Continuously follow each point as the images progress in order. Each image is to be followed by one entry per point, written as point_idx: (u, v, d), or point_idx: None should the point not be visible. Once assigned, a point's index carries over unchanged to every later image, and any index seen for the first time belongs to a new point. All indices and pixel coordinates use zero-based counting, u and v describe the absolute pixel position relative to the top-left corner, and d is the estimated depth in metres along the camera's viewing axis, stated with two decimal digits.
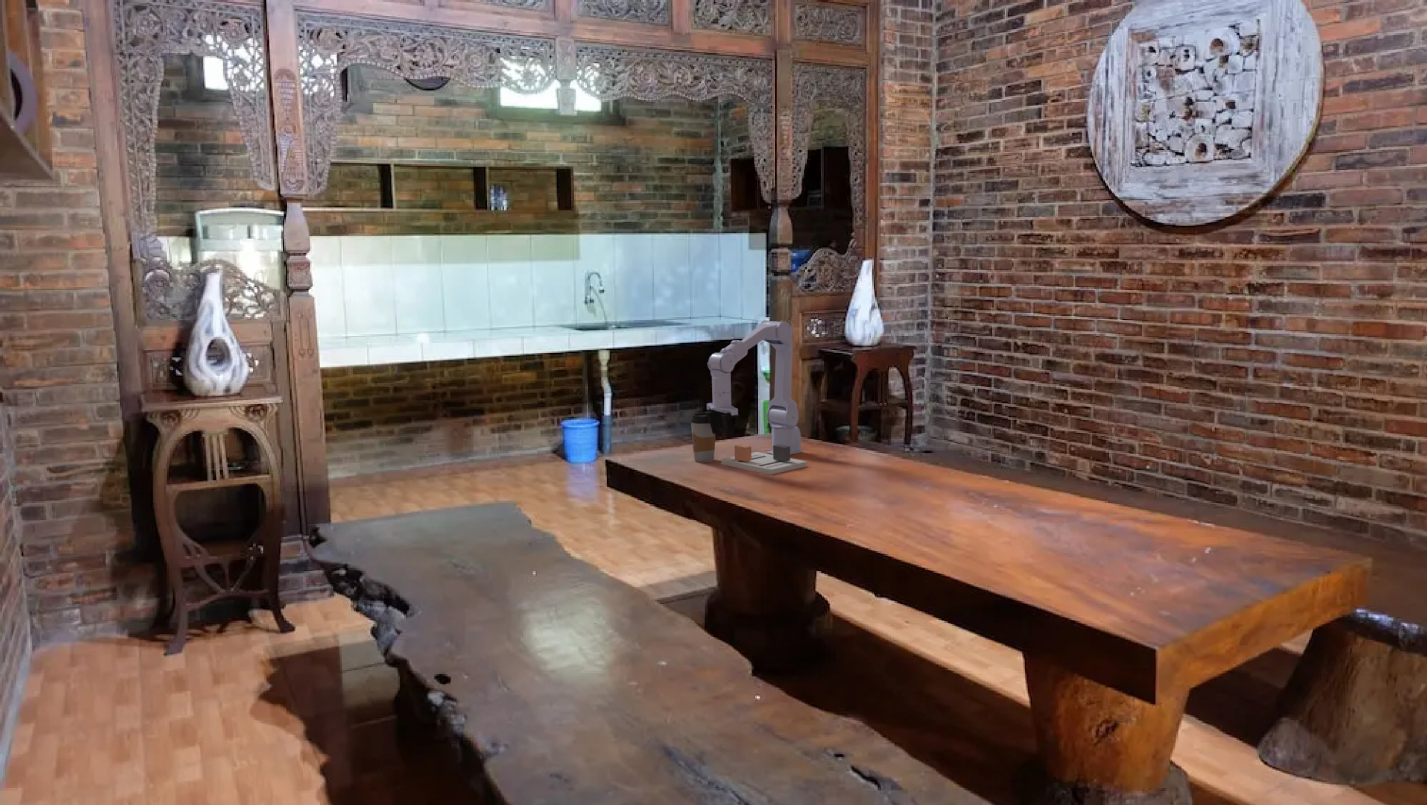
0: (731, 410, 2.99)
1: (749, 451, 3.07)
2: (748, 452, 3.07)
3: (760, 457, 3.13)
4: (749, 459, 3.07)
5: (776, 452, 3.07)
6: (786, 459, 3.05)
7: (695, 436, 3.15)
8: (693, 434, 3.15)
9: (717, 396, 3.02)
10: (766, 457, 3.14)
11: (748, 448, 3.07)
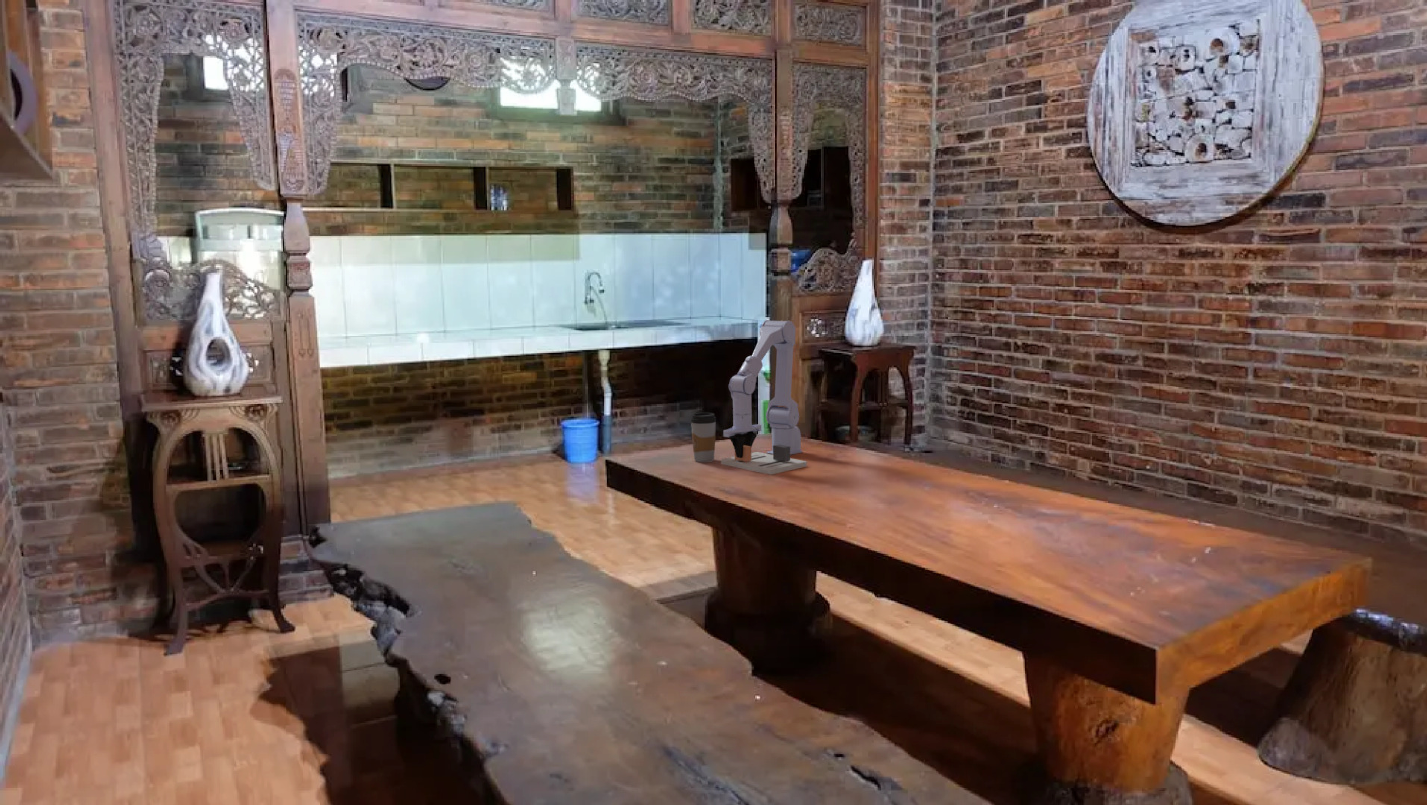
0: None
1: (749, 451, 3.07)
2: (748, 452, 3.07)
3: (760, 457, 3.13)
4: (749, 459, 3.07)
5: (776, 452, 3.07)
6: (786, 459, 3.05)
7: (695, 436, 3.15)
8: (693, 434, 3.15)
9: None
10: (766, 457, 3.14)
11: (748, 448, 3.07)
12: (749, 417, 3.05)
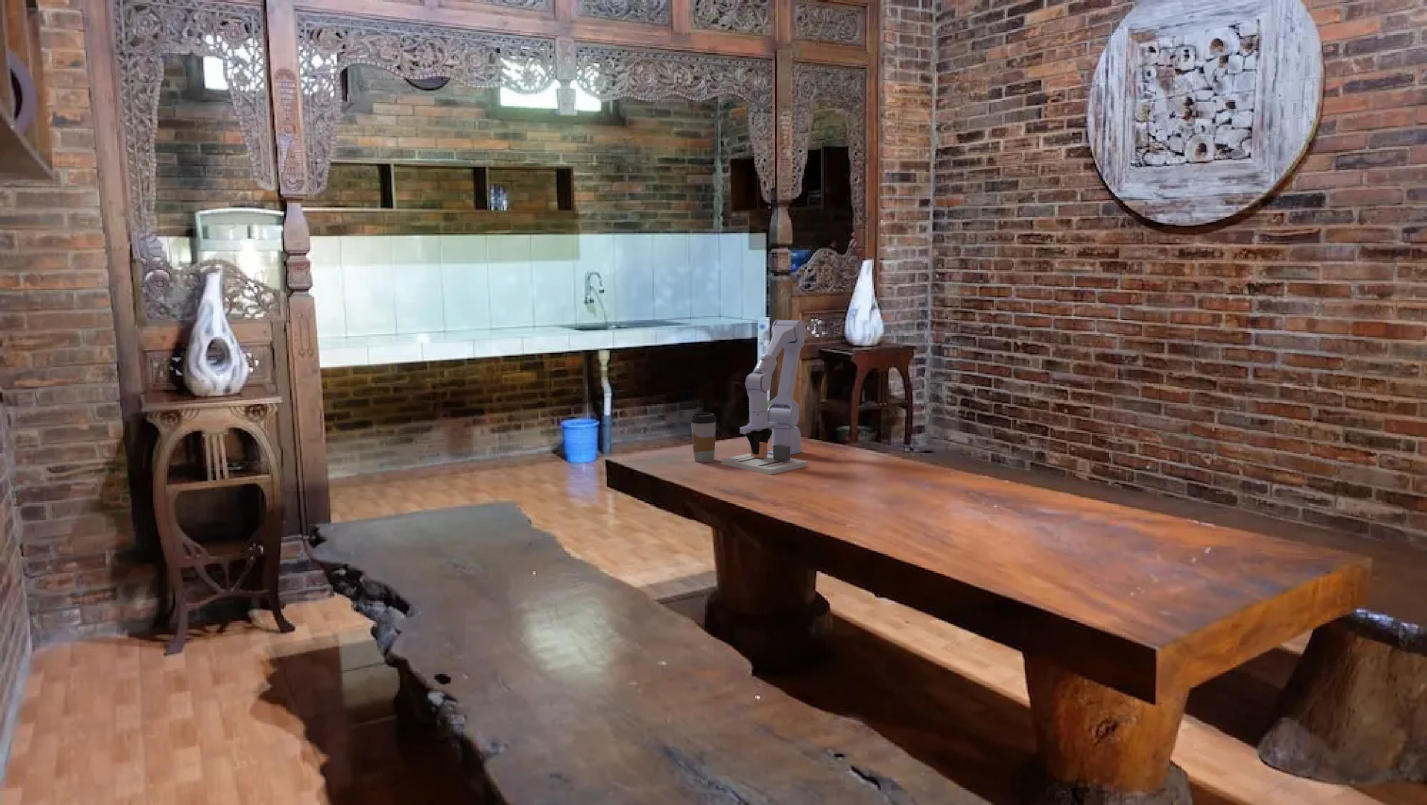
0: None
1: (765, 448, 3.12)
2: (764, 449, 3.11)
3: None
4: (765, 455, 3.12)
5: (776, 452, 3.07)
6: (786, 459, 3.05)
7: (695, 436, 3.15)
8: (693, 434, 3.15)
9: None
10: (766, 457, 3.14)
11: (764, 445, 3.11)
12: (765, 414, 3.10)
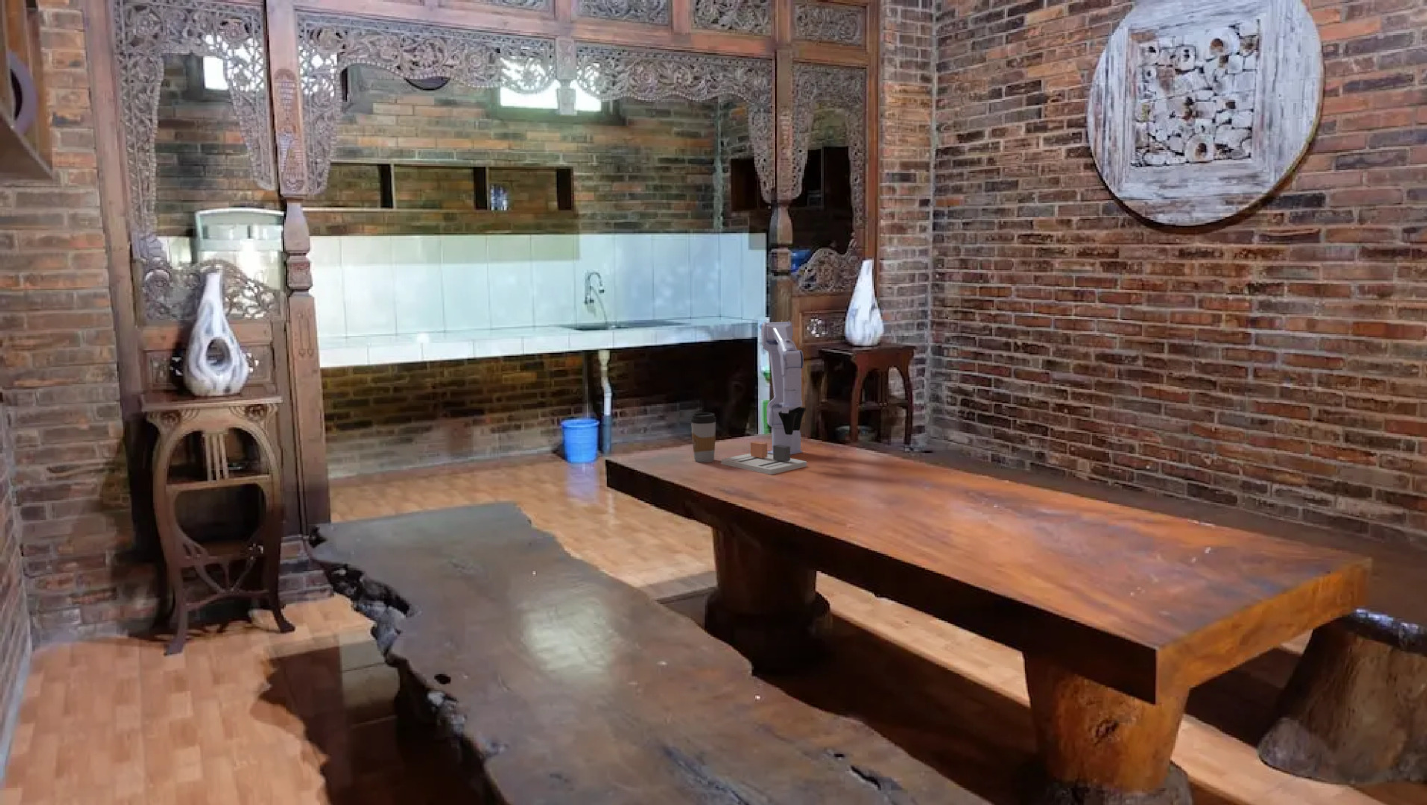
0: None
1: (765, 448, 3.12)
2: (764, 449, 3.11)
3: None
4: (765, 455, 3.12)
5: (776, 452, 3.07)
6: (786, 459, 3.05)
7: (695, 436, 3.15)
8: (693, 434, 3.15)
9: (783, 393, 3.07)
10: (766, 457, 3.14)
11: (764, 445, 3.11)
12: None
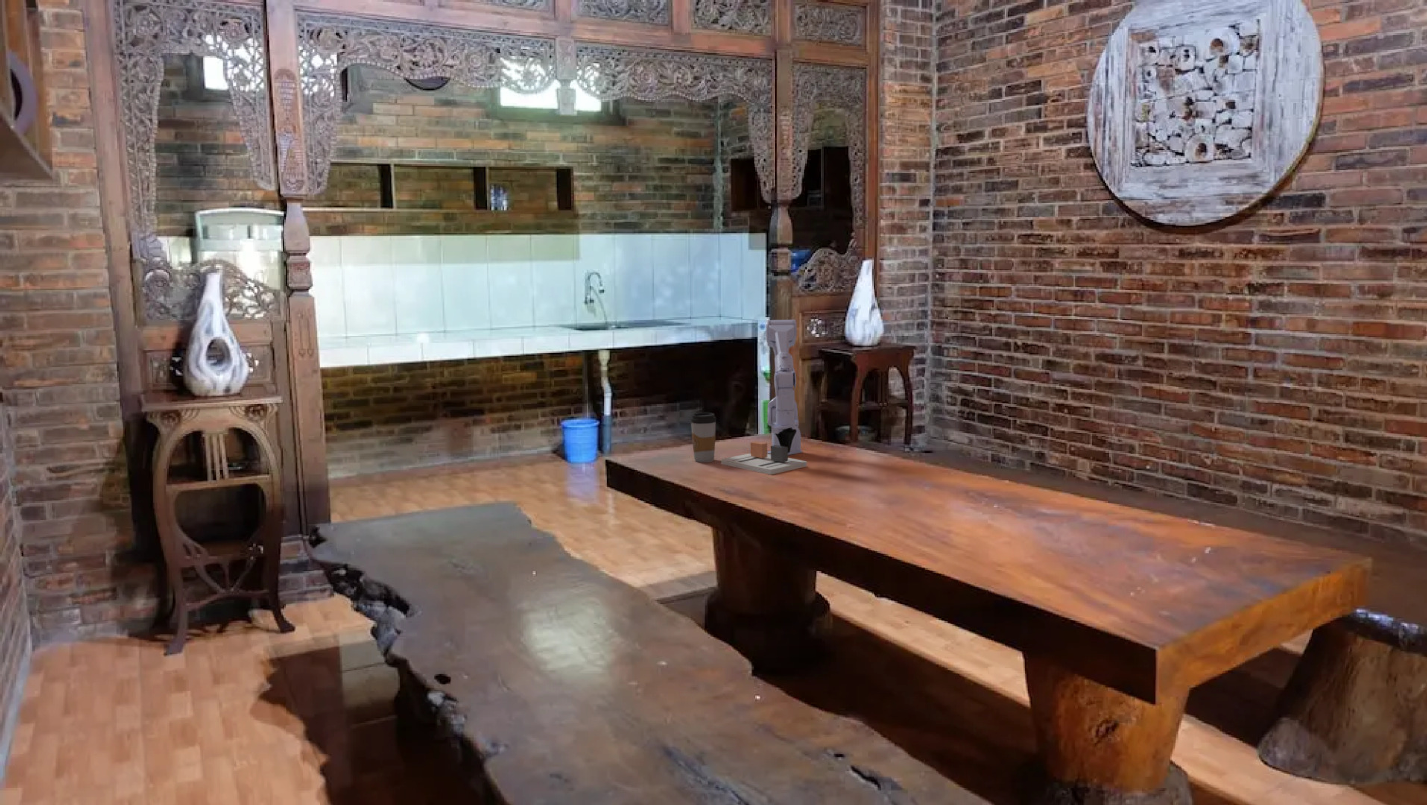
0: None
1: (765, 448, 3.12)
2: (764, 449, 3.11)
3: None
4: (765, 455, 3.12)
5: (773, 453, 3.07)
6: (784, 460, 3.05)
7: (695, 436, 3.15)
8: (693, 434, 3.15)
9: (776, 413, 3.07)
10: (766, 457, 3.14)
11: (764, 445, 3.11)
12: (794, 413, 3.05)
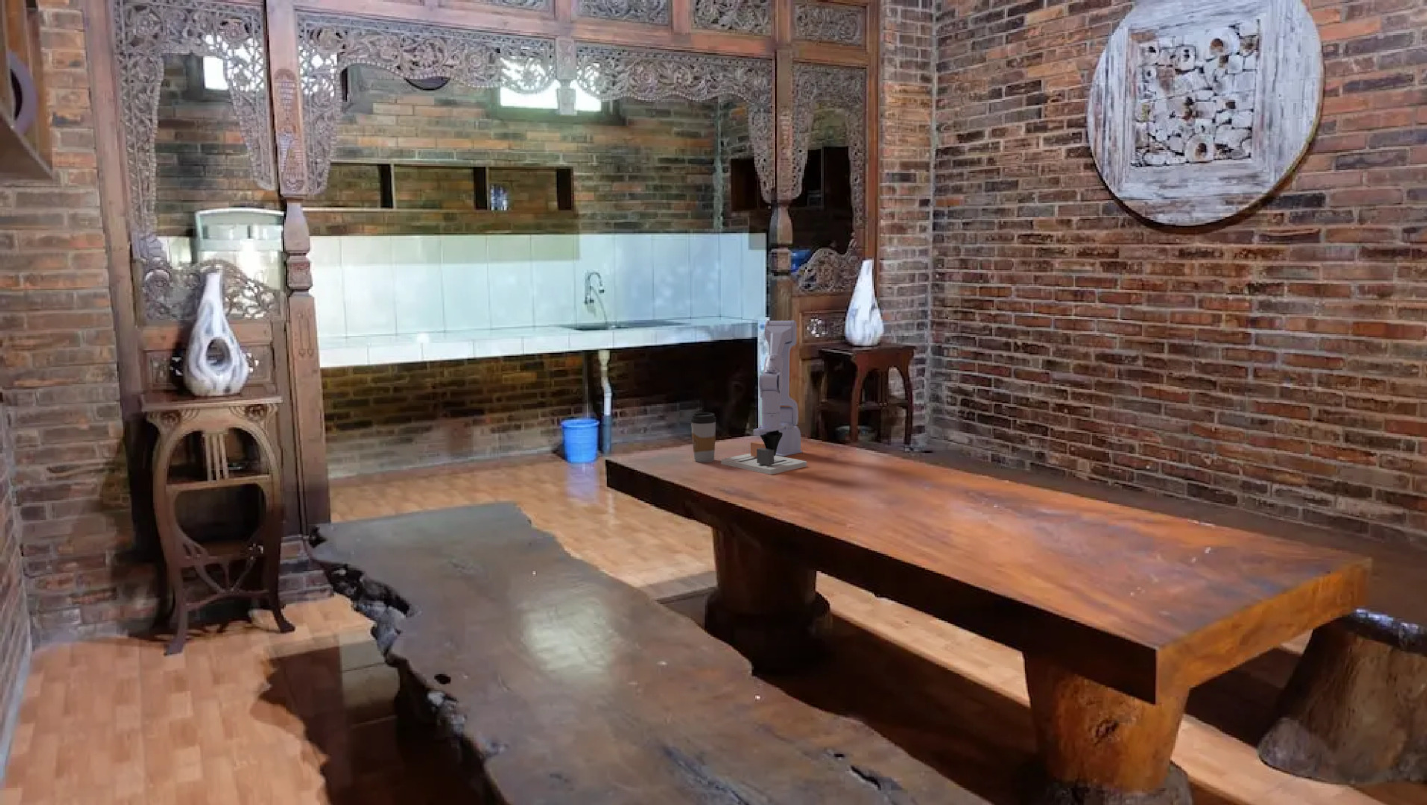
0: None
1: None
2: None
3: None
4: None
5: (759, 456, 3.03)
6: (770, 463, 3.01)
7: (695, 436, 3.15)
8: (693, 434, 3.15)
9: None
10: None
11: (764, 445, 3.11)
12: (778, 415, 3.01)
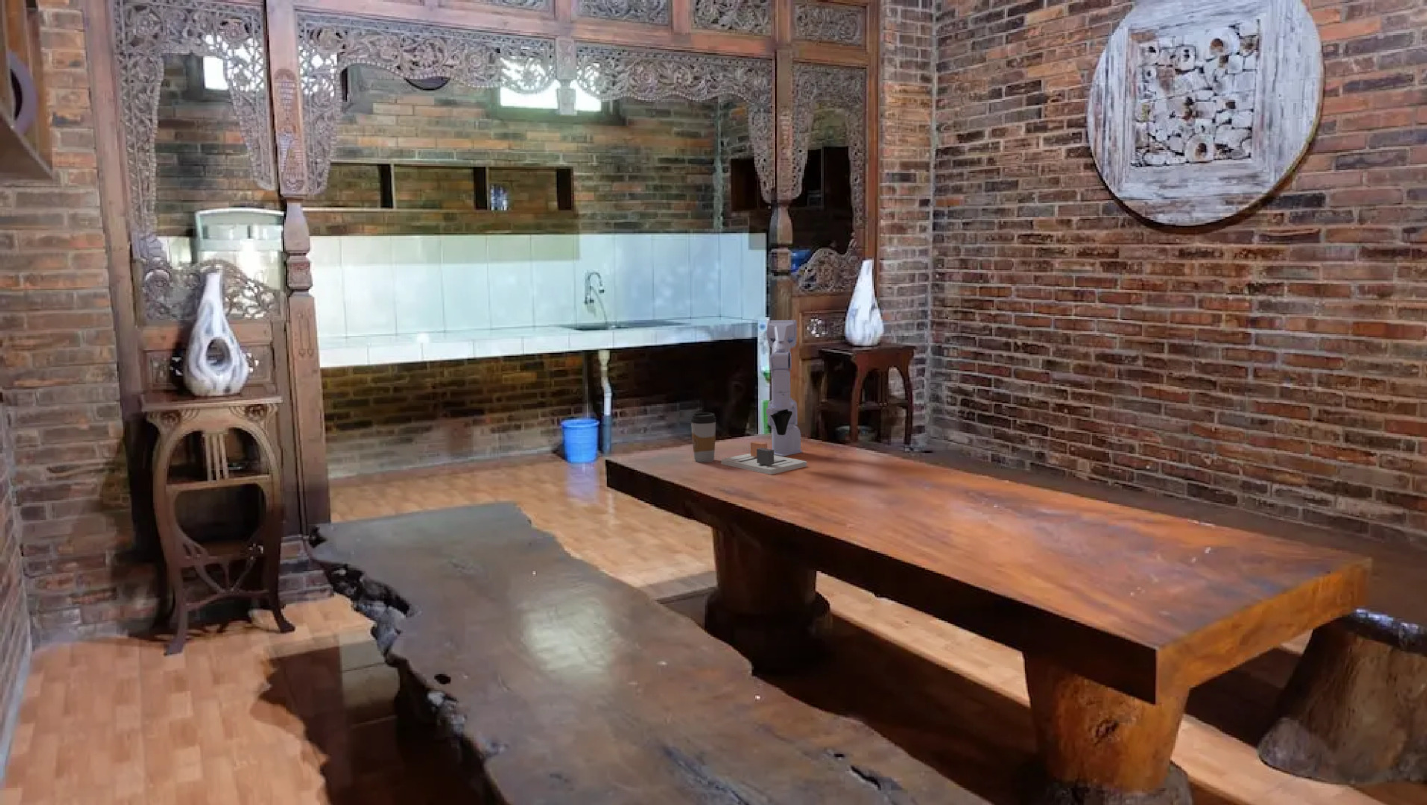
0: None
1: None
2: None
3: None
4: None
5: (759, 456, 3.03)
6: (770, 463, 3.01)
7: (695, 436, 3.15)
8: (693, 434, 3.15)
9: None
10: None
11: (764, 445, 3.11)
12: (789, 394, 3.03)
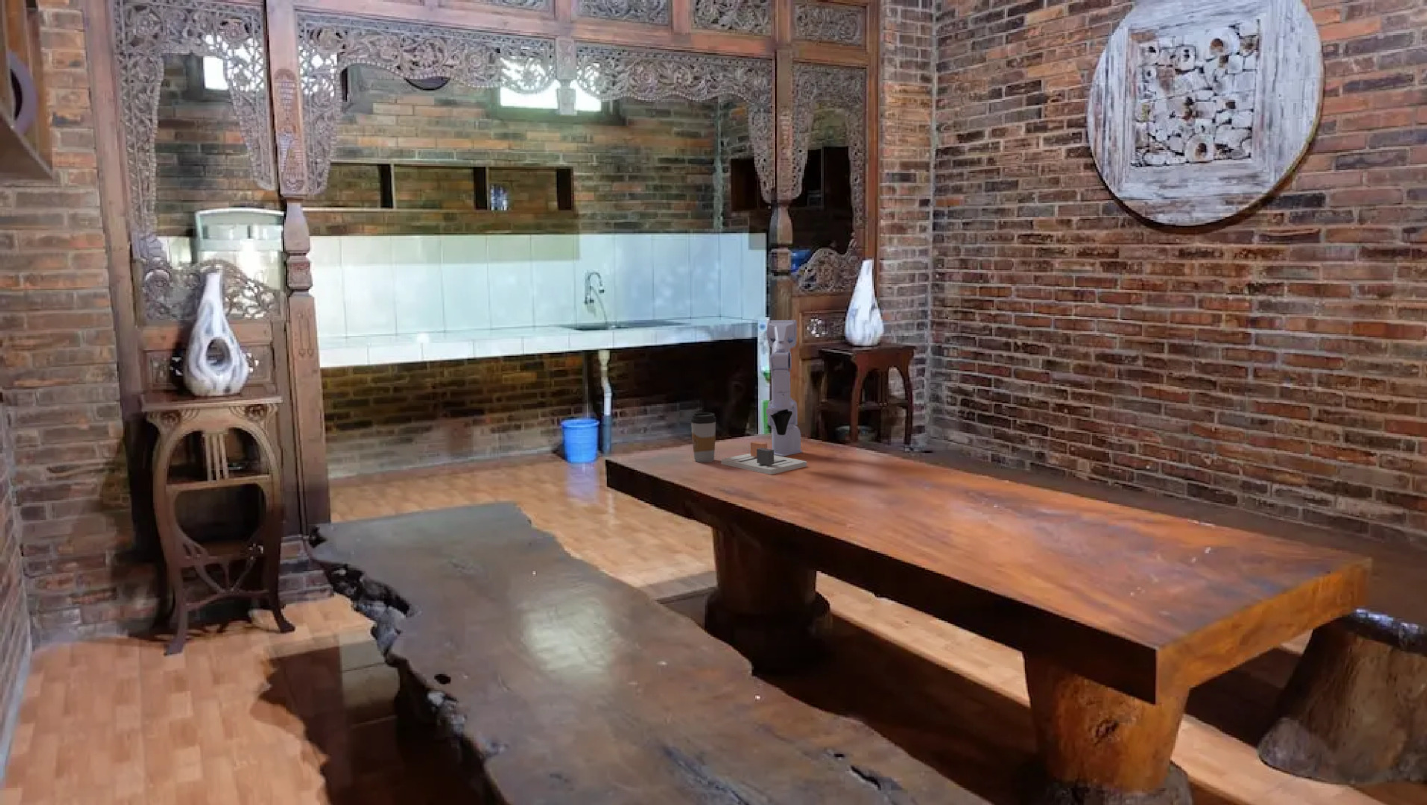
0: None
1: None
2: None
3: None
4: None
5: (759, 456, 3.03)
6: (770, 463, 3.01)
7: (695, 436, 3.15)
8: (693, 434, 3.15)
9: None
10: None
11: (764, 445, 3.11)
12: (789, 394, 3.03)
